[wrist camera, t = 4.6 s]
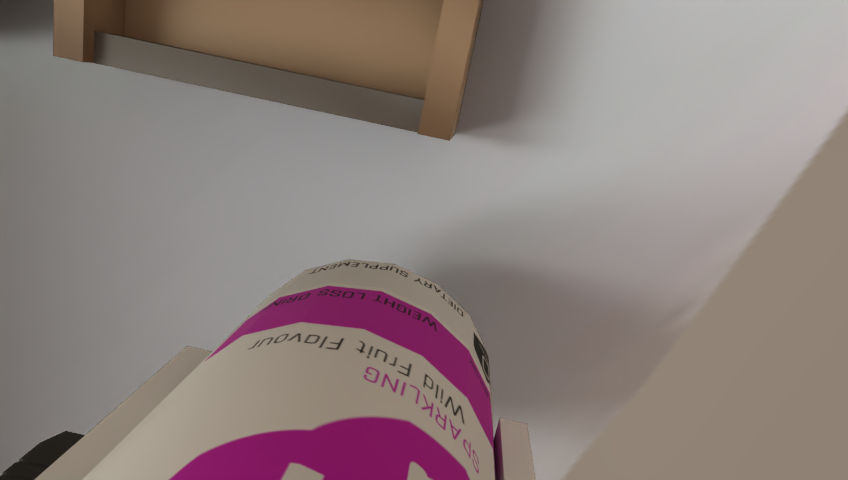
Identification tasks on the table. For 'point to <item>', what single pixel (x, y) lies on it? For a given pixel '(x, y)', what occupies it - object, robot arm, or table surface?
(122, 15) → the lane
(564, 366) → the table surface
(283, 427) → the supplement can
